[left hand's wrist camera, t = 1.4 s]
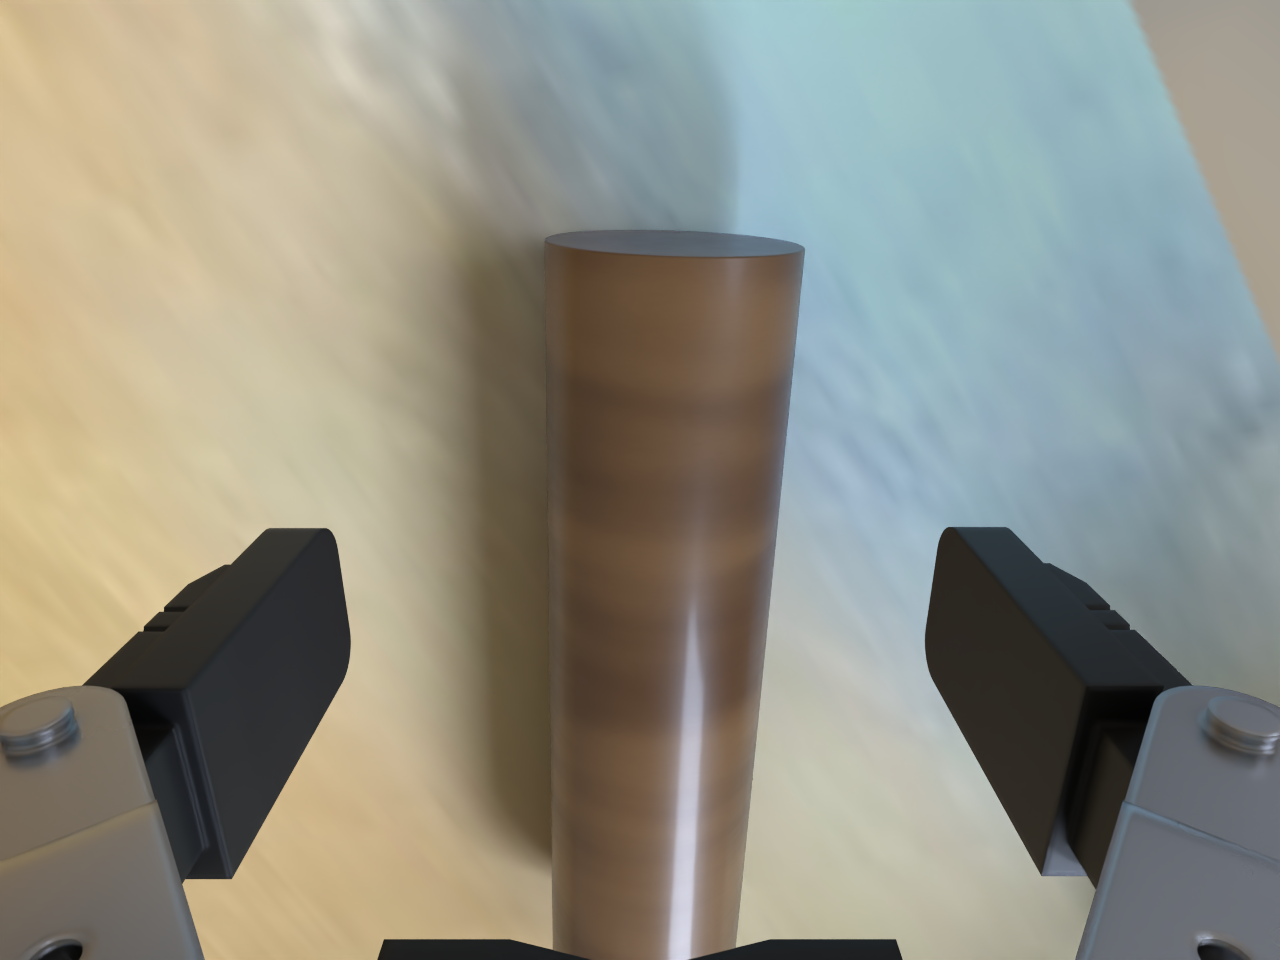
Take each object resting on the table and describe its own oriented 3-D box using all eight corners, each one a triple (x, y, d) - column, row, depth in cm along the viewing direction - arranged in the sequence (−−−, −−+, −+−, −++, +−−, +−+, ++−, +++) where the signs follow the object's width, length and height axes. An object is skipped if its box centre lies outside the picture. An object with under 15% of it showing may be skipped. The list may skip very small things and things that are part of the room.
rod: (557, 227, 22) (528, 251, 17) (782, 234, 23) (830, 260, 17) (561, 893, 31) (543, 1057, 26) (723, 897, 31) (741, 1062, 26)
